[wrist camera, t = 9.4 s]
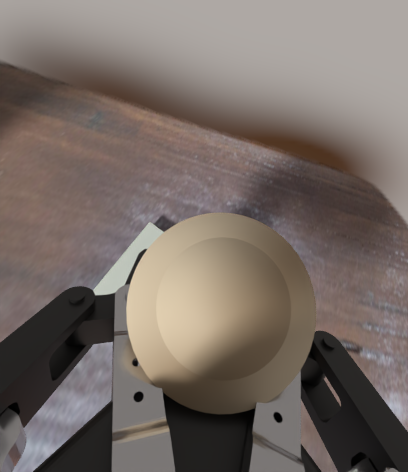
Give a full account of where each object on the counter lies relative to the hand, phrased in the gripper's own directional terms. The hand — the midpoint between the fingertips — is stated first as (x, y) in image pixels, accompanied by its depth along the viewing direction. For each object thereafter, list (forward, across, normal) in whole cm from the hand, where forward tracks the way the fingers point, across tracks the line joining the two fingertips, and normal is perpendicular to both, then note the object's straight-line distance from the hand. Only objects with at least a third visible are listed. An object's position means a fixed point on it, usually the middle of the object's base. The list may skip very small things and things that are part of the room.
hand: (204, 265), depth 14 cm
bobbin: (+2, 0, +5) cm, 6 cm away
